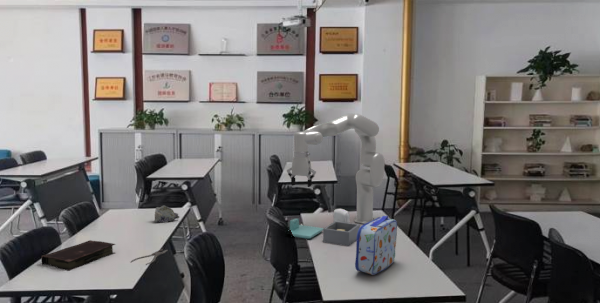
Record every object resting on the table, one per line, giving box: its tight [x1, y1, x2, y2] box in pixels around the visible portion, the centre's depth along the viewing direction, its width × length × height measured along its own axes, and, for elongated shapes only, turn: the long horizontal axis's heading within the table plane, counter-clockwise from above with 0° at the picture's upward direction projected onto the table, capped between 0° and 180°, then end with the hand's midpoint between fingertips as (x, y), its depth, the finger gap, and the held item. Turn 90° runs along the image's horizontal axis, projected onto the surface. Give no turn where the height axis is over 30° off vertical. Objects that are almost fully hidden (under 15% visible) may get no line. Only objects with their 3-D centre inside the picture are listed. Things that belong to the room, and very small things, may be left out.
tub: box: [322, 221, 361, 247], centre depth 235 cm, size 16×14×7 cm
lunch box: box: [354, 215, 398, 276], centre depth 196 cm, size 28×10×22 cm, turn 148°
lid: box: [289, 218, 325, 240], centre depth 245 cm, size 17×15×8 cm
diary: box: [41, 239, 116, 271], centre depth 206 cm, size 19×25×5 cm
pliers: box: [130, 248, 168, 266], centre depth 209 cm, size 10×1×20 cm
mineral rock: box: [154, 205, 180, 224], centre depth 269 cm, size 13×11×10 cm
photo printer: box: [333, 208, 351, 223], centre depth 251 cm, size 10×4×12 cm, turn 39°
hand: (301, 185), depth 247 cm, fingers open, 9 cm apart
